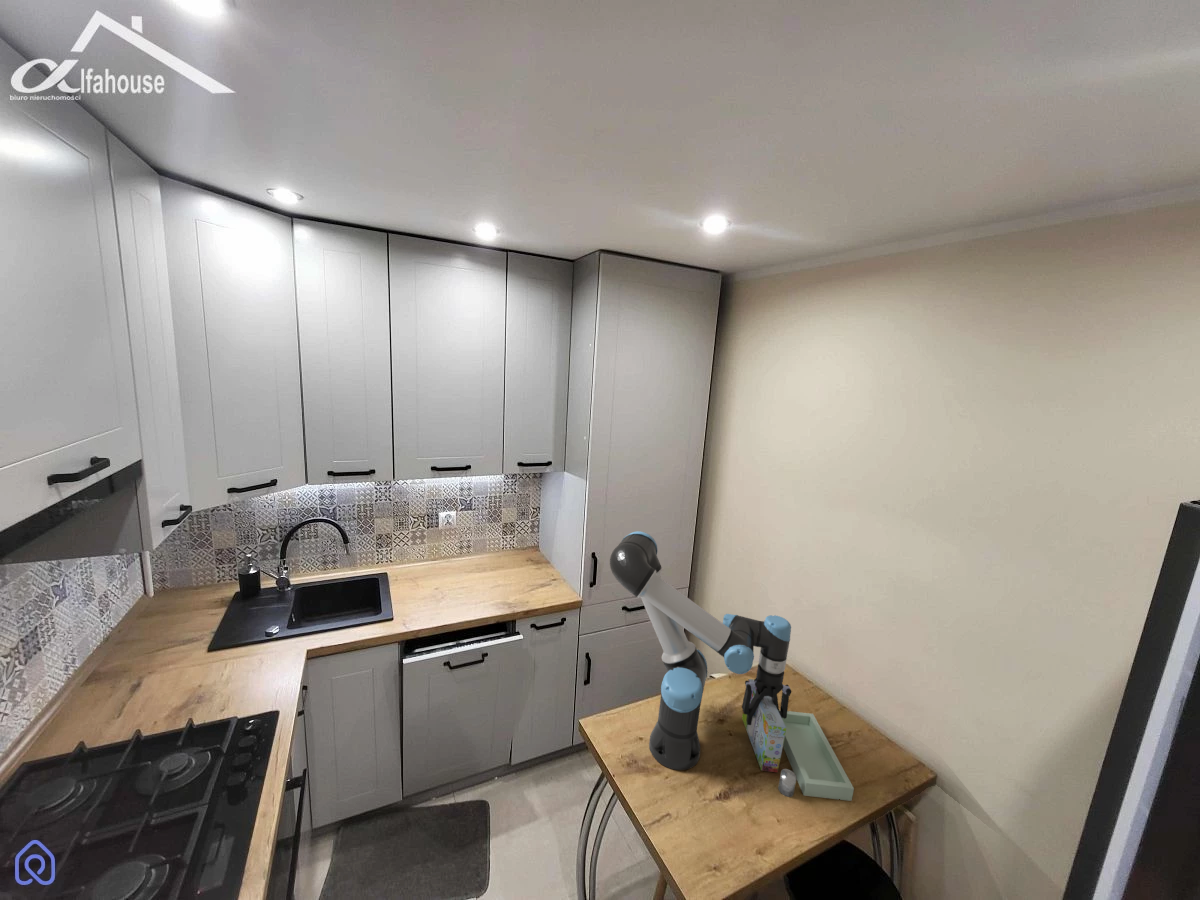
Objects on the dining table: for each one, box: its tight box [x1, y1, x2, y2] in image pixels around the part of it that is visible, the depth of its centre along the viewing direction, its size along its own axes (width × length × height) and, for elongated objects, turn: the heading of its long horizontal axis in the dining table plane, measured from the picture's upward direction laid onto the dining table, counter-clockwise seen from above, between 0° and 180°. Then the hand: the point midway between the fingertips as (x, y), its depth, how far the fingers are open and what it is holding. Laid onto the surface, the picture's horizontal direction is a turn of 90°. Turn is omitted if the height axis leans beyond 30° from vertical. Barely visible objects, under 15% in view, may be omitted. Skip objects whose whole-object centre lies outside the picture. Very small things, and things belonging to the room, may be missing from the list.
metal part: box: [777, 768, 797, 798], centre depth 129 cm, size 4×4×5 cm
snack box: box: [741, 678, 786, 773], centre depth 144 cm, size 21×6×15 cm, turn 179°
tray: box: [779, 709, 855, 802], centre depth 142 cm, size 13×28×4 cm, turn 177°
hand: (760, 734), depth 145 cm, fingers closed on snack box, 6 cm apart
